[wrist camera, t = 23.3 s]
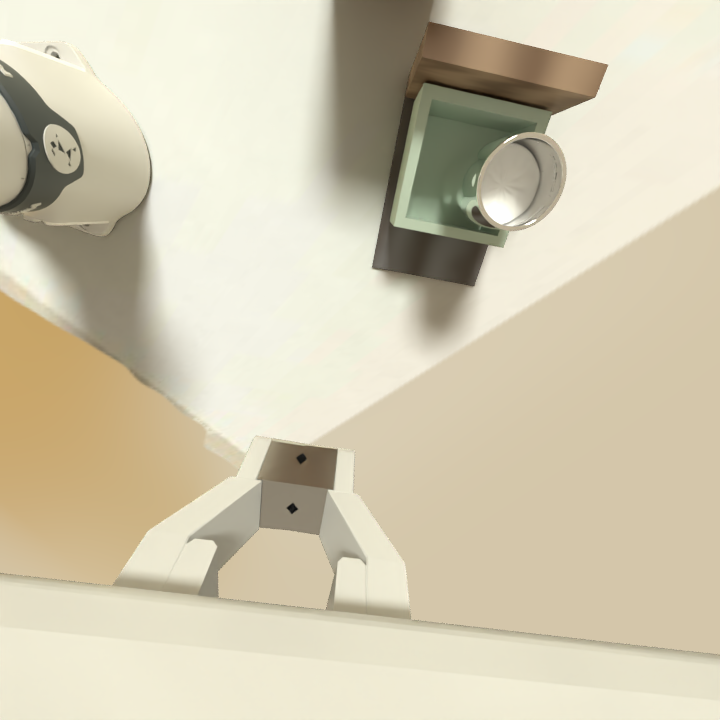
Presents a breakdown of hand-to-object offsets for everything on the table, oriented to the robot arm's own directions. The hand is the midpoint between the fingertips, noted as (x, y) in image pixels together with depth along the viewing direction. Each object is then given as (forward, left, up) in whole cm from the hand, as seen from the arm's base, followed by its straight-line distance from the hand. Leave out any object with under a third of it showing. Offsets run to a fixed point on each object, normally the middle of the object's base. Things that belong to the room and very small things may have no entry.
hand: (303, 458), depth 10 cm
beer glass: (+12, +10, -36) cm, 39 cm away
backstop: (+10, +9, -37) cm, 39 cm away
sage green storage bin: (+10, +11, -37) cm, 39 cm away
